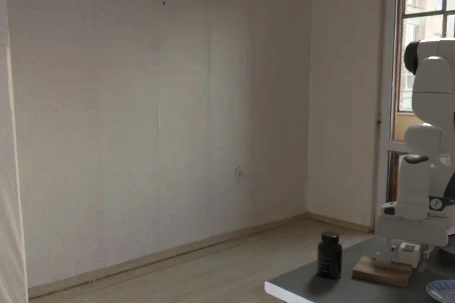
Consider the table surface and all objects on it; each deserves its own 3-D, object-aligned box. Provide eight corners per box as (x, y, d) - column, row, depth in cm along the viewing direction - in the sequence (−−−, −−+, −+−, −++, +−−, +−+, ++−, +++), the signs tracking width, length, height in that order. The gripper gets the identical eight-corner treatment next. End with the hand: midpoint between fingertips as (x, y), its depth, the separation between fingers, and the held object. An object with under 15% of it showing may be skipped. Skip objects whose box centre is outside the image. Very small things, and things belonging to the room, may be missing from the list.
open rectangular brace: (401, 256, 141) (402, 241, 141) (419, 259, 139) (420, 244, 138) (397, 264, 135) (398, 249, 134) (416, 268, 132) (417, 252, 131)
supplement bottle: (322, 267, 132) (324, 228, 130) (345, 273, 128) (347, 232, 126) (312, 275, 127) (314, 234, 125) (335, 282, 123) (337, 239, 121)
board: (362, 261, 137) (362, 255, 136) (412, 271, 130) (412, 264, 129) (352, 276, 126) (352, 269, 126) (405, 287, 119) (406, 280, 119)
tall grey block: (376, 264, 129) (377, 251, 129) (391, 267, 127) (391, 254, 127) (375, 266, 128) (375, 253, 127) (389, 269, 126) (390, 256, 125)
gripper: (452, 212, 132) (448, 258, 134) (379, 203, 142) (376, 245, 144) (450, 218, 126) (446, 265, 128) (375, 207, 136) (372, 251, 138)
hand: (409, 254), depth 136 cm, fingers open, 8 cm apart
